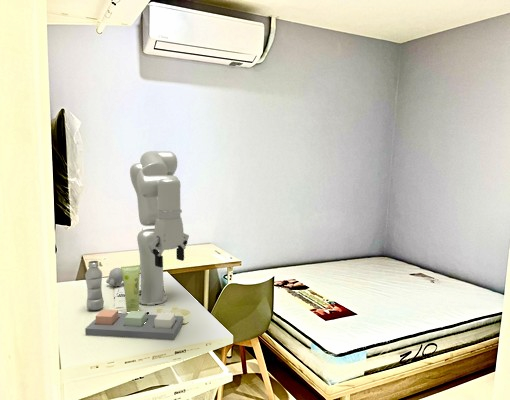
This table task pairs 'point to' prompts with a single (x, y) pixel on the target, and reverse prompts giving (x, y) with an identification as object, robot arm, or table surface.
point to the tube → (131, 286)
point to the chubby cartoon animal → (115, 277)
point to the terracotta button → (107, 317)
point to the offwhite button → (164, 320)
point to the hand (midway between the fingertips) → (169, 263)
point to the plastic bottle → (94, 286)
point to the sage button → (136, 318)
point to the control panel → (135, 329)
